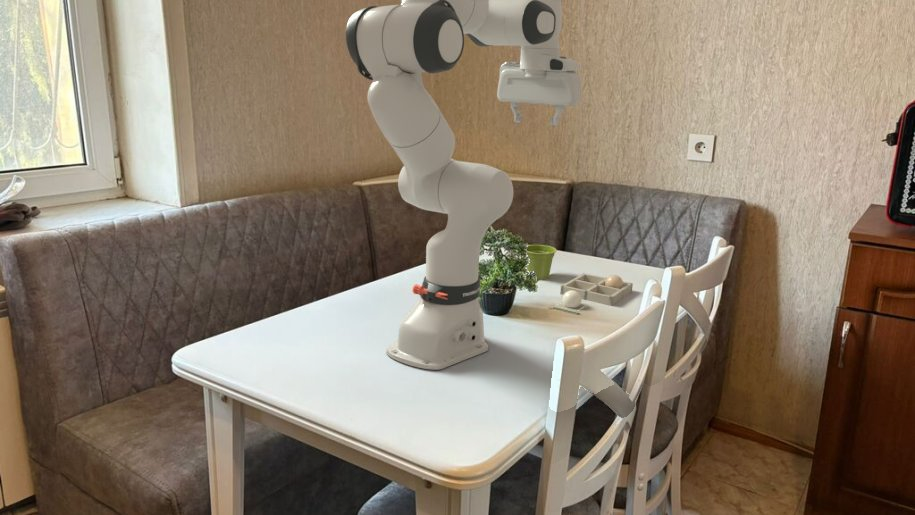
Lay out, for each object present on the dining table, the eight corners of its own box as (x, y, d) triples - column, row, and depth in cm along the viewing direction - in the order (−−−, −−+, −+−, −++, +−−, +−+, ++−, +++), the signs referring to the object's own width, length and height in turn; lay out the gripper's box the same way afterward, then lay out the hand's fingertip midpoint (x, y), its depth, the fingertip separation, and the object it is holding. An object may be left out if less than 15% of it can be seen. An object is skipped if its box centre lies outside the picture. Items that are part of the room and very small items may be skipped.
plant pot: (514, 275, 195) (516, 246, 192) (543, 272, 198) (544, 243, 196) (531, 285, 186) (533, 254, 184) (560, 281, 190) (563, 251, 188)
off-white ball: (575, 313, 167) (577, 295, 166) (558, 308, 169) (559, 291, 168) (583, 307, 171) (585, 290, 169) (566, 303, 173) (568, 286, 172)
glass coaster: (577, 314, 166) (577, 311, 166) (553, 309, 169) (553, 306, 169) (588, 307, 171) (588, 304, 171) (565, 302, 174) (565, 299, 174)
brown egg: (618, 296, 177) (619, 279, 176) (601, 292, 180) (603, 275, 179) (624, 291, 181) (626, 275, 180) (608, 288, 184) (610, 271, 182)
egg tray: (611, 308, 171) (612, 297, 170) (560, 296, 178) (560, 285, 177) (631, 294, 182) (632, 283, 181) (582, 283, 189) (583, 273, 188)
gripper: (493, 60, 159) (491, 121, 163) (574, 63, 149) (569, 128, 152) (507, 61, 165) (504, 119, 168) (586, 63, 154) (581, 126, 157)
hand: (536, 123), depth 160 cm, fingers open, 8 cm apart
